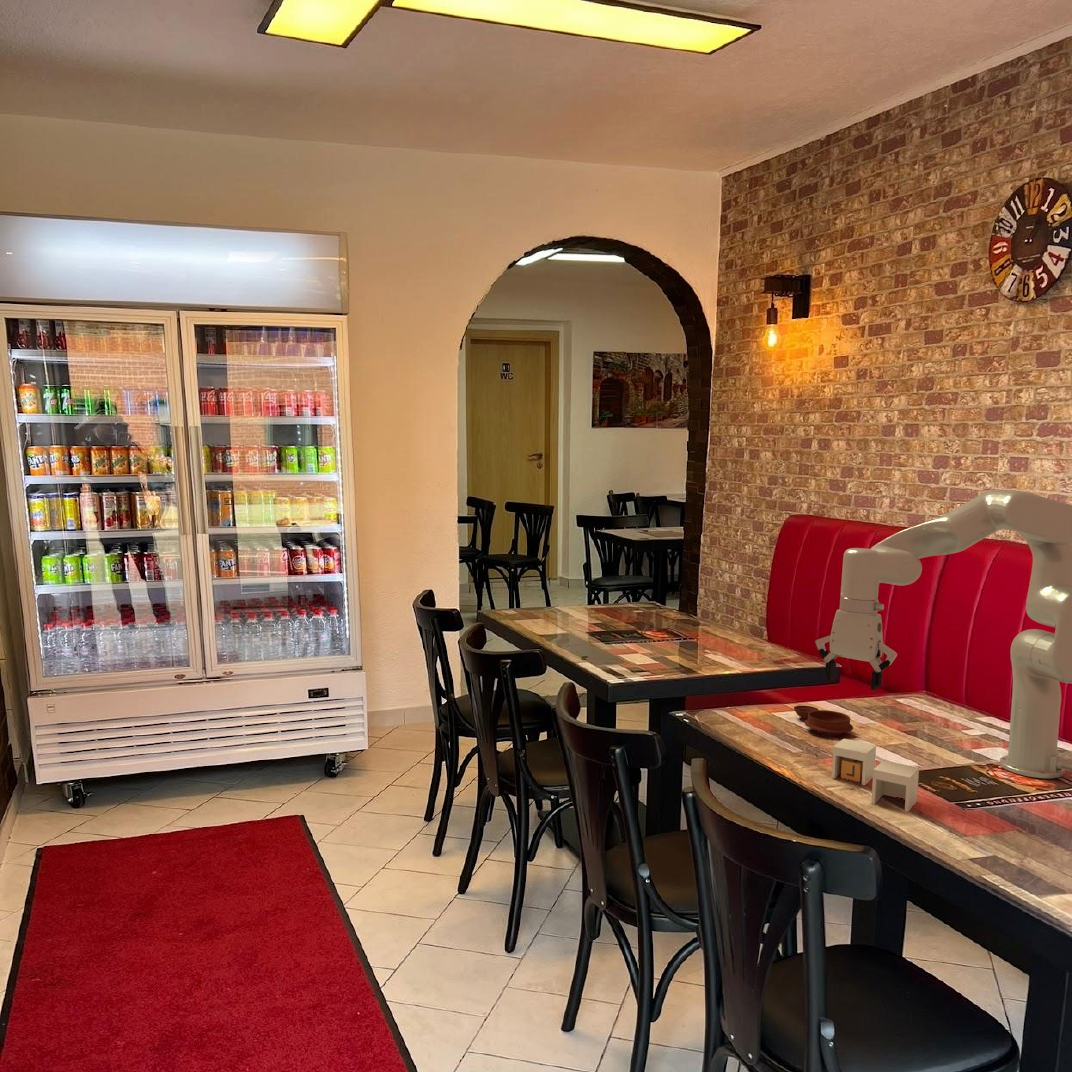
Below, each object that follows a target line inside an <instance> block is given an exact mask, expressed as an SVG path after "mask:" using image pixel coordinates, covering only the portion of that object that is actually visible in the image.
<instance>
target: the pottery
mask: <svg viewBox="0 0 1072 1072" xmlns="http://www.w3.org/2000/svg"><path fill="white" fill-rule="evenodd" d="M793 711H794V712H795V713H796V715H797V716H799V720H800V721H803V722H804V723H803V724H804V726H806V727H807V728H810V729H812V730H814V731H815V732H816V731H817V732H816V733H817V734H819V733H820V734H819V735H821V734H822V736H828V737H837V736H838V737H839V736H841V734H843V733H848V732H851V731H853V730H854V725H852V724H851V717H850V716H849V715H847V714H845V713H843V712H839V711H834V710H824V709H821V710H820V709H819V708H817V707H815V706H810V705H796V706H793Z"/></svg>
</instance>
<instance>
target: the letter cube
mask: <svg viewBox="0 0 1072 1072" xmlns="http://www.w3.org/2000/svg"><path fill="white" fill-rule="evenodd" d="M862 772H863V761H860V760H855V759H851V758H846V757H845V758H844V759H843V760H842V765H841V773H840V779H844V778H846V779H845V780H848V779H849V780H850V781H852V780H853V782H857V781H858V782H857V783H860V782H862Z"/></svg>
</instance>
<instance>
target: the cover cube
mask: <svg viewBox="0 0 1072 1072" xmlns="http://www.w3.org/2000/svg"><path fill="white" fill-rule="evenodd" d="M876 749H877V745H876V744H872V743H868V742H863V741H857V740H852V739H848V738H843V739H841V740H840V741H838V742H837V743H835V744H834V745H833V747H832V766H831V779H834V778H835V779H836V778H837V777H838V776H840V775H841V765H842V760H843V759H844V758H845V757H846V758H851V759H855V760H860V761H863V772H862V780H861V786H864V785H865V786H866V785H867V784H868V783H869V782H870V781H871V780H873V769H874V768H875V767H876V754H877V751H876Z"/></svg>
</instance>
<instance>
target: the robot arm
mask: <svg viewBox="0 0 1072 1072" xmlns="http://www.w3.org/2000/svg"><path fill="white" fill-rule="evenodd" d="M1000 530H1001V531H1002V530H1006V531H1014V532H1017V533H1018V534H1019V535H1020V536H1021V537H1022V538H1023V539H1024V541H1025V542H1026V543H1027V544H1028V548H1029V549H1030V551H1031V554H1032V566H1031V567H1032V568H1031V572H1030V573H1031V574H1030V578H1029V579H1030V580H1029V586H1028V591H1027V597H1026V602H1025V603H1026V604H1025V611H1026V614H1027V616H1028V618H1029V619H1031V620H1032V621H1034V622H1036V623H1038V624H1040V625H1043V626H1044V625H1045V626H1047V627H1052V628H1055V631H1054V632H1051V631H1046V630H1043V629H1037V628H1034V629H1033V628H1031V629H1026V630H1023V631H1021V632H1019V633H1018V634H1017V635H1016V636H1015V637H1014V638H1013V640H1012V642H1011V646H1010V652H1009V653H1010V662H1011V668H1012V669H1011V670H1012V694H1011V707H1010V708H1011V709H1010V721H1009V722H1010V724H1009V736H1008V738H1009V739H1008V750H1007V753H1008V754H1007V755H1004V756H1002V757H1000V759H999V765H1000V767H1001V768H1003V769H1004V770H1006V771H1009V772H1011V773H1014V774H1018V775H1020V776H1024V777H1025V776H1026V777H1029V778H1037V779H1058V778H1061V777H1063V776H1064V771H1065V770H1069V771H1072V759H1071V758H1063V756H1061V751H1060V750H1058V742H1059V741H1058V740H1059V728H1060V719H1061V718H1060V717H1061V716H1060V715H1061V706H1062V689H1061V685H1060V683H1062V684H1063V683H1065V684H1072V504H1071V503H1070V504H1069V503H1067V502H1063V501H1062V502H1061V501H1059V500H1056V499H1051V498H1048V497H1044V496H1041V495H1038V494H1034V493H1031V492H1027V491H1022V490H1012V489H1010V490H1009V489H997V488H996V489H990V490H988V491H985V492H983V493H981V494H979V495H977V496H976V497H974V498H972V499H970V500H969V501H967V502H964V503H963V504H961V505H960V506H958V507H955V508H954V509H952V510H951V511H949V512H947V513H945V514H944V515H941V516H939V517H938V518H937V517H936V518H934V519H932V520H929V521H925V522H923V523H920V524H918V525H915V526H911V527H908V528H906V529H902V530H900V531H898V532H895V533H894V534H892V535H890V536H888V537H885V538H884V539H882V540H881V541H880V542H877V543H876V544H875V545H873V546H871V548H863V547H861V548H860V547H851V548H848V549H846V550H845V551H844V552H843V557H842V558H843V559H842V572H841V583H840V584H841V585H840V599H839V609H836V612H835V615H834V619H833V622H832V627H831V631H830V634H829V635H827V636H824V637H821V638H819V639H816V640H815V641H814V642H815V645H816V648H817V650H818V654H819V655H820V656H821V657H822V659H823V661H824V662H825V673H824V675H825V677H826V680H825V681H827V682H832V681H834V680H835V679H836V671H837V670H836V669H837V662H836V661H835V659H837V657H840V658H846V659H851V660H857V661H863V662H869V664H870V665H871V666H872V668H873V671H872V672H871V677H870V678H871V679H870V690H871V691H875V690H878V689H879V688H880V687H881V686H882V683H883V682H882V681H883V671H885V670H886V669H887V668H888V667H890V666H891V665H892V664H893V662H894V661H895V659H896V658H897V657H898V653H897V652H896V651H895V650H893V649H892V648H890V647H889V646H887V644H885V643H884V640H883V638H884V637H883V622H882V615H881V614H880V613H878V612H879V611H884V609H885V605H884V603H880V601H879V599H878V597H879V588H880V587H879V586H880V584H882V583H883V584H888V585H889V584H890V585H895V586H907V585H908V586H909V585H912V584H913V583H915V582H916V581H917V580H918V579H919V578H920V577H921V575H922V571H923V565H922V562H921V560H920V559H923V558H928V557H935V556H943V555H944V556H945V555H946V556H947V555H951V554H956V553H960V552H962V551H965V550H967V549H968V548H970V547H972V546H973V545H975V544H977V543H978V542H981V541H983V540H984V539H985V538H987V537H989V536H991V535H993V534H994V533H997V532H999V531H1000ZM826 643H829V651H828V649H827V648H826V646H825V644H826ZM883 654H885V655H886V659H885V660H884V661H883V662H882V660H881V658H882V656H883Z"/></svg>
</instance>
